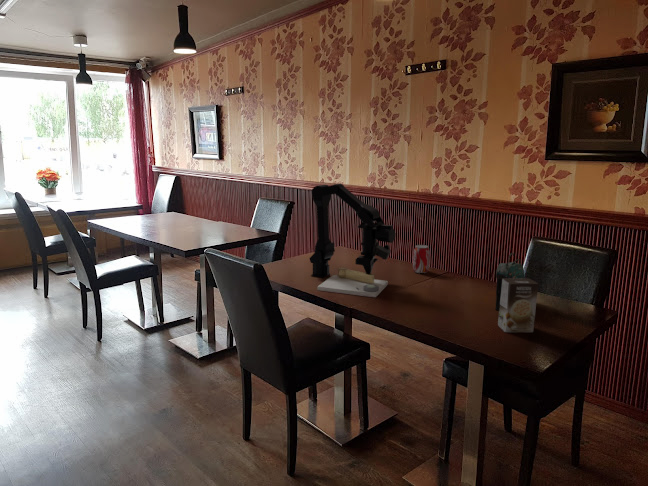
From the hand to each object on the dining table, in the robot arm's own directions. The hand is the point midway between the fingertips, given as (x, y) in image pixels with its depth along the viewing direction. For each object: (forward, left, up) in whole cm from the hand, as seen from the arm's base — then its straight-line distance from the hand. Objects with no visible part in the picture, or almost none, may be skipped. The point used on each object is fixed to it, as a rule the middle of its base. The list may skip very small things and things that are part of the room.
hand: (368, 276), depth 201 cm
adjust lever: (-6, 0, -2) cm, 6 cm away
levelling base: (-5, -6, -4) cm, 8 cm away
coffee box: (+57, -28, -4) cm, 64 cm away
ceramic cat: (+54, -5, -4) cm, 54 cm away
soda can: (+16, +27, -4) cm, 32 cm away
